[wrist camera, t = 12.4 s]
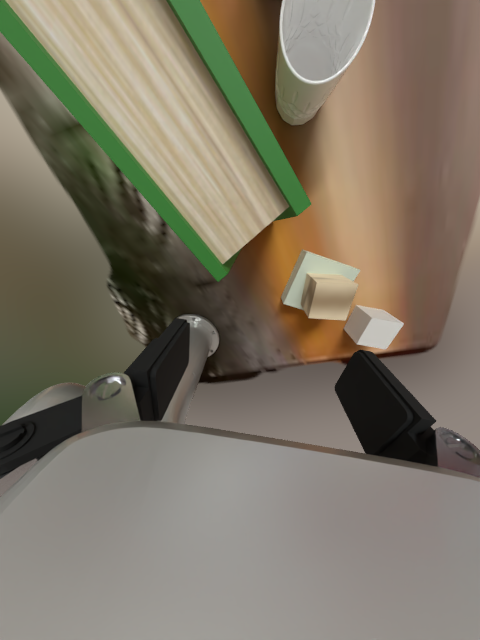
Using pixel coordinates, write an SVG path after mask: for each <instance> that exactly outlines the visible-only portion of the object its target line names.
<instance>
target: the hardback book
mask: <svg viewBox="0 0 480 640" xmlns="http://www.w3.org/2000/svg"><path fill="white" fill-rule="evenodd" d="M0 32H1V33H2V34H3V35H4V36H5V38H6V39H7V40H8V41H9V42H10V43H11V44H12V46H13V47H14V48H15V49H16V50H17V51H18V53H19V54H20V55H21V56H22V57H23V58H24V59H25V61H26V62H27V63H28V64H29V65H30V66H31V67H32V69H33V70H34V71H35V72H36V73H37V74H38V76H39V77H40V78H41V79H42V80H43V81H44V82H45V84H46V85H47V86H48V87H49V88H50V89H51V90H52V92H53V93H54V94H55V95H56V96H57V97H58V99H59V100H60V101H61V102H62V103H63V104H64V105H65V107H66V108H67V109H68V110H69V111H70V112H71V114H72V115H73V116H74V117H75V118H76V119H77V120H78V122H79V123H80V124H81V125H82V126H83V127H84V128H85V130H86V131H87V132H88V133H89V134H90V135H91V137H92V138H93V139H94V140H95V141H96V142H97V143H98V145H99V146H100V147H101V148H102V149H103V150H104V151H105V153H106V154H107V155H108V156H109V157H110V158H111V160H112V161H113V162H114V163H115V164H116V165H117V166H118V168H119V169H120V170H121V171H122V172H123V173H124V174H125V176H126V177H127V178H128V179H129V180H130V181H131V183H132V184H133V185H134V186H135V187H136V188H137V189H138V191H139V192H140V193H141V194H142V195H143V196H144V198H145V199H146V200H147V201H148V202H149V203H150V204H151V206H152V207H153V208H154V209H155V210H156V211H157V212H158V214H159V215H160V216H161V217H162V218H163V219H164V221H165V222H166V223H167V224H168V225H169V226H170V227H171V229H172V230H173V231H174V232H175V233H176V234H177V235H178V237H179V238H180V239H181V240H182V241H183V242H184V244H185V245H186V246H187V247H188V248H189V249H190V250H191V252H192V253H193V254H194V255H195V256H196V257H197V258H198V260H199V261H200V262H201V263H202V264H203V265H204V267H205V268H206V269H207V270H208V271H209V272H210V273H211V275H212V276H213V277H214V278H215V279H216V280H217V281H218V282H219V281H220V280H221V279H222V278H223V277H225V276H226V275H227V274H228V272H229V271H230V269H231V267H232V265H233V263H234V262H235V260H236V258H237V256H238V254H239V253H240V251H241V249H242V247H243V246H244V245H246V244H247V243H248V242H249V241H250V240H251V239H253V238H254V237H255V236H256V235H257V234H258V233H259V232H261V231H262V230H263V229H264V228H265V227H266V226H267V225H269V224H270V223H271V222H272V221H276V220H281V219H285V218H290V217H295V216H298V215H299V214H300V213H301V212H303V211H304V210H305V209H306V208H307V207H309V206H310V205H311V202H310V200H309V198H308V197H307V195H306V193H305V191H304V189H303V188H302V186H301V184H300V182H299V180H298V178H297V177H296V175H295V173H294V171H293V169H292V168H291V166H290V164H289V162H288V160H287V158H286V157H285V155H284V153H283V151H282V149H281V148H280V146H279V144H278V142H277V140H276V138H275V137H274V135H273V133H272V131H271V129H270V128H269V126H268V124H267V122H266V120H265V118H264V117H263V115H262V113H261V111H260V109H259V107H258V106H257V104H256V102H255V100H254V98H253V97H252V95H251V93H250V91H249V89H248V87H247V86H246V84H245V82H244V80H243V78H242V77H241V75H240V73H239V71H238V69H237V67H236V66H235V64H234V62H233V60H232V58H231V57H230V55H229V53H228V51H227V49H226V47H225V46H224V44H223V42H222V40H221V38H220V37H219V35H218V33H217V31H216V29H215V27H214V26H213V24H212V22H211V20H210V18H209V16H208V15H207V13H206V11H205V9H204V7H203V6H202V4H201V2H200V0H0Z"/></svg>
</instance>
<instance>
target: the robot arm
mask: <svg viewBox="0 0 480 640" xmlns="http://www.w3.org/2000/svg"><path fill="white" fill-rule="evenodd" d="M218 345H219V334H218V331H217V329H216V327H215V326H214V325H213V324H212V323H211V322H210V321H209V320H208V319H206V318H204V317H202V316H199V315H195V314H185V315H181V316H179V317H177V318H175V319H174V320H173V321H172V323H171V324H170V325H169V326H168V327H167V328H166V330H165V331H164V332H163V333H162V334H161V336H160V337H159V338H155V339H153V340H152V341H151V343H150V344H149V345H148V346H147V347H146V348H145V349H144V351H143V352H142V353H141V354H140V355H139V356H138V357H137V358H136V360H135V361H134V362H133V363H132V364H131V365H130V366H129V367H128V369H127V370H126V371H125V372H124V373H109V374H105V375H102V376H99V377H98V378H96V379H94V380H92V381H91V382H90V383H89V384H88V385H87V386H86V387H85V386H83V385H79V384H76V383H62V384H58V385H54V386H52V387H49V388H48V389H45V390H44V391H42V392H40V393H39V394H37V395H36V396H35V397H33V398H32V399H30V400H29V401H28V402H27V403H25V404H24V405H23V406H22V407H21V408H20V409H18V410H17V411H16V412H15V413H14V414H13V415H12V416H11V417H10V418H9V419H8V420H7V421H6V422H5V423H4V424H3V425H2V426H0V640H480V450H479V449H478V448H477V447H476V446H475V445H474V444H472V443H471V442H470V441H468V440H467V439H466V438H464V437H463V436H461V435H459V434H458V433H456V432H454V431H452V430H449V429H446V428H441V427H439V428H437V429H435V430H433V429H432V428H431V425H433V424H434V423H435V422H436V420H435V419H434V418H433V417H432V416H431V415H430V414H429V413H428V411H426V409H425V408H424V407H423V406H422V405H421V404H420V403H419V402H418V401H417V400H416V399H415V397H414V396H413V395H412V394H411V393H410V392H409V391H408V390H407V389H406V388H405V387H404V386H403V385H402V384H401V382H400V381H399V380H398V379H397V378H396V377H395V376H394V375H393V374H392V373H391V372H390V370H389V369H387V367H386V366H385V365H384V364H383V363H382V362H381V361H380V360H379V359H378V358H377V356H376V355H375V354H374V353H373V352H370V351H365V350H358V351H357V352H355V353H354V354H353V356H352V357H351V359H350V361H349V363H348V364H347V366H346V368H345V370H344V371H343V373H342V374H341V376H340V378H339V380H338V381H337V383H336V385H335V391H336V393H337V395H338V398H339V400H340V402H341V404H342V406H343V408H344V410H345V412H346V414H347V416H348V418H349V420H350V422H351V424H352V426H353V429H354V431H355V432H356V435H357V437H358V439H359V441H360V443H361V445H362V447H363V449H364V451H365V453H366V454H363V453H358V452H352V451H346V450H341V449H334V448H329V447H323V446H317V445H311V444H305V443H299V442H293V441H286V440H281V439H275V438H269V437H263V436H257V435H250V434H244V433H238V432H232V431H226V430H220V429H213V428H206V427H199V426H193V425H186V424H184V423H185V420H186V416H187V413H188V410H189V407H190V404H191V401H192V399H193V395H194V393H195V390H196V388H197V385H198V382H199V379H200V376H201V374H202V371H203V368H204V365H205V362H206V360H207V357H208V356H210V355H212V354H213V353H214V352H215V351H216V349H217V347H218Z"/></svg>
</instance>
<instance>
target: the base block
mask: <svg viewBox="0 0 480 640" xmlns="http://www.w3.org/2000/svg"><path fill="white" fill-rule="evenodd" d="M359 272H360V270H359V269H356V268H354V267H352V266H349V265H346V264H343V263H340V262H337V261H334V260H331V259H328V258H325V257H323V256H320V255H317V254H314V253H311V252H308V251H305V250H302V251H301V253H300V255H299V258H298V260H297V262H296V264H295V267H294V269H293V271H292V273H291V276H290V278H289V280H288V282H287V285H286V287H285V289H284V292H283V294H282V296H281V299H282V301H283V304H286V305H289V306H292V307H295V308H298V309H302V310H304V309H303V308H302V306H301V299H302V294H303V289H304V284H305V279H306V274H307V273H317V274H338V275H343V276H344V277H346V278H348V279H350V280H351V281H354V280H355V278H356V276H357V275H358V273H359Z"/></svg>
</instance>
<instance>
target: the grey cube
mask: <svg viewBox="0 0 480 640" xmlns="http://www.w3.org/2000/svg"><path fill="white" fill-rule="evenodd" d="M403 324H404V323H402V322H401V321H399V320H398V319H396V318H395V317H393V316H392V315H390V314H389V313H387V312H386V311H384V310H381V309H375V308H370V307H364V306H359V305H356V306H355V308H354V310H353V312H352V313H351V315H350V317H349V319H348V321H347V323H346V325H345V327H344V330H345V331H346V332H347V334H348V335H349V336H350V337H351V338H352V339H353V341H354V342H355V343H356V344H358V345H364V346H369V347H375V348H381V349H387V347H388V346H389V345H390V343H391V342H392V340H393V339H394V337H395V336H396V335H397V333H398V332H399V330H400V329H401V327H402V326H403Z"/></svg>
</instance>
